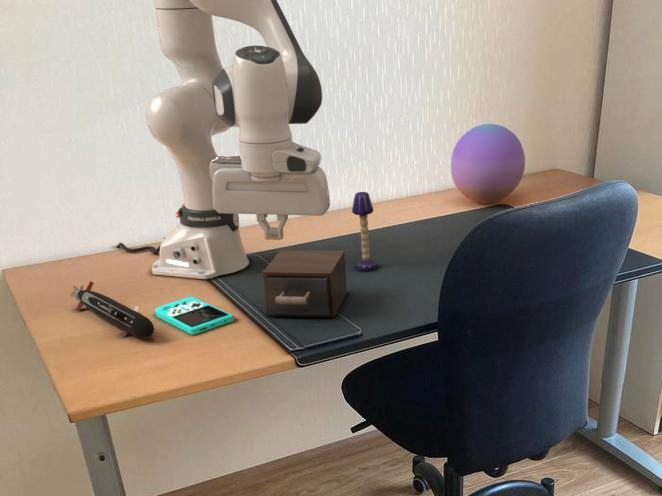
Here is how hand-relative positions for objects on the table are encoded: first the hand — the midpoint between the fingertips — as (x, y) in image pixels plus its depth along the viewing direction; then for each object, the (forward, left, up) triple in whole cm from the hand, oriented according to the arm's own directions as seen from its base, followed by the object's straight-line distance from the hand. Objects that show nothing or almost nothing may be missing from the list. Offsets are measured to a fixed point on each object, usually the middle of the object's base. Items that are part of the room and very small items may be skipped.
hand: (274, 238), depth 147 cm
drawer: (0, +14, -18) cm, 23 cm away
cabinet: (0, +18, -19) cm, 26 cm away
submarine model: (-38, +5, -19) cm, 43 cm away
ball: (+32, +96, -19) cm, 103 cm away
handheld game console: (-22, +9, -19) cm, 31 cm away
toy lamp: (+8, +40, -19) cm, 46 cm away
